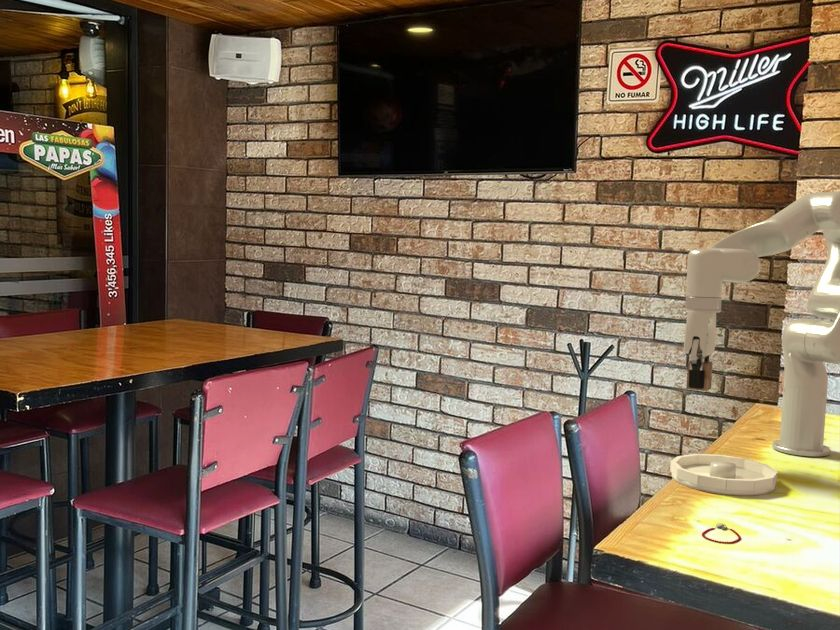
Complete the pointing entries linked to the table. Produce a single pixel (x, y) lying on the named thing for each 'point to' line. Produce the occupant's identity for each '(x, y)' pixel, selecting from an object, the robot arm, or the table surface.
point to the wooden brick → (707, 378)
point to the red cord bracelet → (719, 525)
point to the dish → (738, 486)
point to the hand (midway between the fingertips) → (699, 385)
